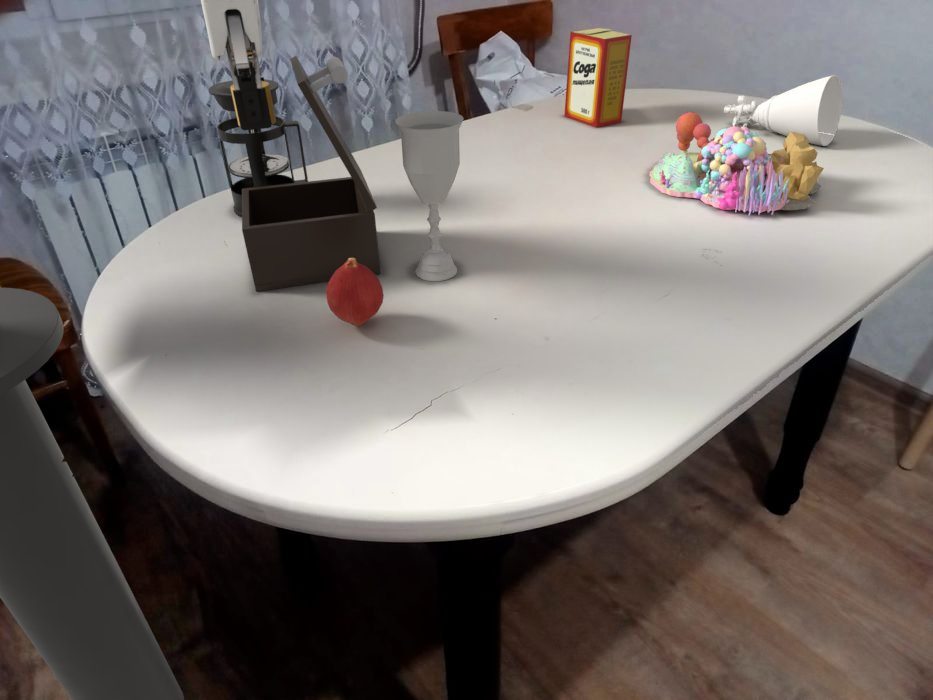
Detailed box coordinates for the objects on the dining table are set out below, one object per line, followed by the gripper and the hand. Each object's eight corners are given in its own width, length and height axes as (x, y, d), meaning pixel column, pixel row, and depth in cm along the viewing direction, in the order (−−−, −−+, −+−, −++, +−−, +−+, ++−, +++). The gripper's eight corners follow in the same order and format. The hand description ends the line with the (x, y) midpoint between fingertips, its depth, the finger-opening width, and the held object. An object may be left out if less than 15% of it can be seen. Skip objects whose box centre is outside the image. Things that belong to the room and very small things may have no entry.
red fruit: (321, 321, 71) (310, 254, 66) (368, 304, 73) (361, 239, 69) (347, 346, 67) (337, 276, 62) (395, 327, 69) (389, 259, 65)
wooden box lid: (297, 84, 65) (341, 59, 65) (289, 58, 75) (328, 37, 75) (371, 211, 74) (410, 190, 74) (355, 173, 84) (390, 155, 84)
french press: (227, 223, 92) (185, 45, 79) (230, 198, 99) (192, 31, 86) (313, 214, 94) (285, 39, 81) (309, 190, 102) (284, 27, 88)
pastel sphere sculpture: (809, 166, 107) (826, 108, 102) (833, 225, 89) (855, 157, 84) (652, 154, 113) (660, 99, 108) (644, 207, 95) (654, 143, 89)
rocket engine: (727, 70, 122) (832, 60, 110) (747, 103, 130) (847, 97, 118) (708, 128, 121) (812, 125, 109) (730, 157, 130) (828, 157, 118)
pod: (235, 129, 70) (226, 90, 68) (242, 118, 73) (234, 81, 71) (273, 127, 70) (266, 88, 68) (278, 117, 74) (271, 79, 71)
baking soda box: (621, 121, 129) (632, 32, 120) (596, 127, 126) (605, 36, 117) (588, 111, 136) (596, 25, 127) (564, 116, 133) (570, 29, 124)
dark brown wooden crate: (256, 291, 76) (241, 229, 72) (254, 245, 86) (241, 188, 82) (380, 274, 79) (374, 213, 75) (365, 231, 89) (359, 175, 85)
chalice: (416, 289, 76) (405, 133, 66) (399, 264, 81) (387, 115, 71) (474, 277, 78) (473, 124, 68) (454, 253, 83) (450, 107, 73)
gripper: (180, -79, 67) (222, 105, 78) (166, -72, 54) (218, 149, 65) (256, -82, 69) (287, 100, 79) (260, -75, 56) (296, 141, 66)
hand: (256, 120), depth 72 cm, fingers closed on pod, 4 cm apart
